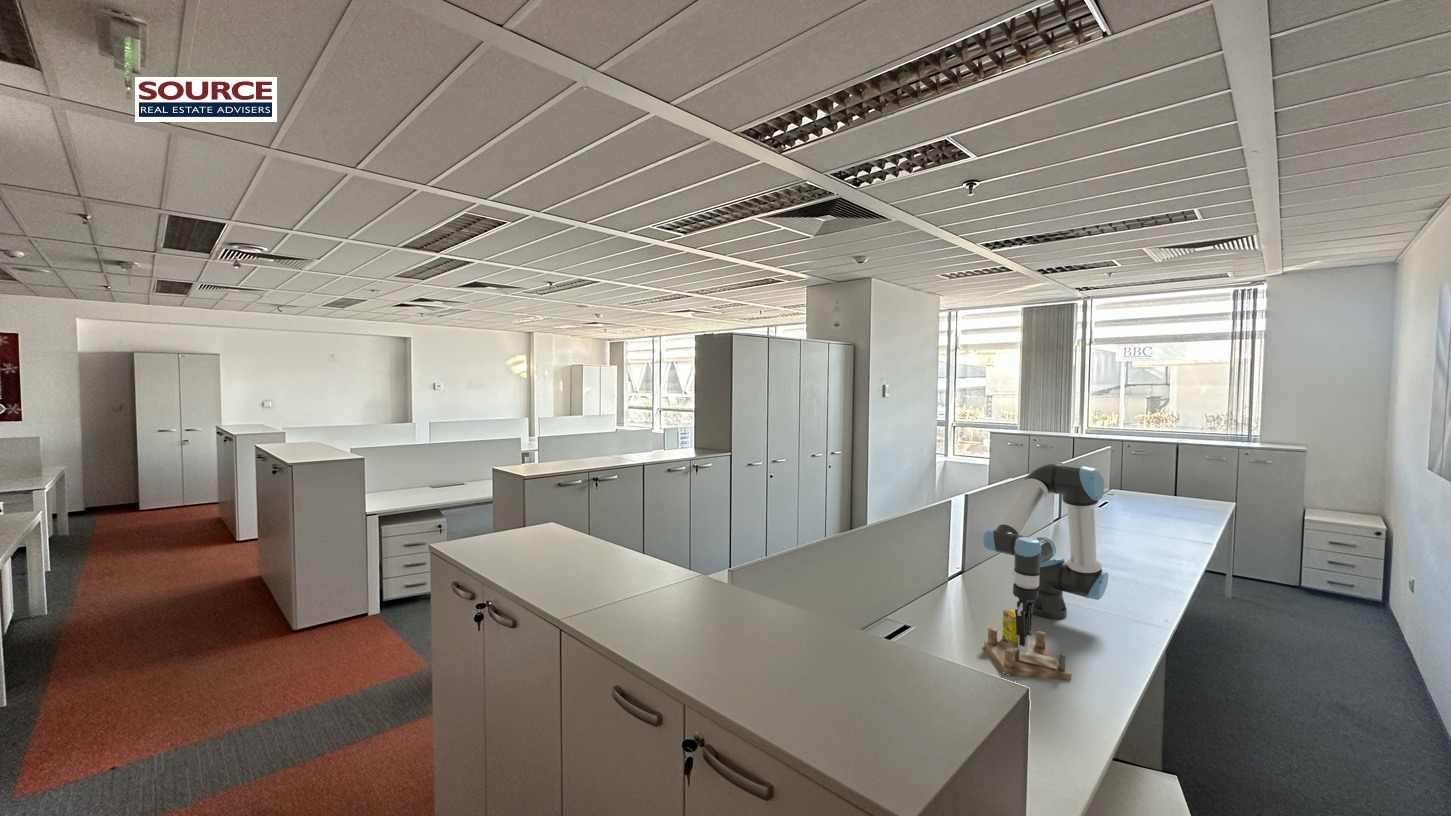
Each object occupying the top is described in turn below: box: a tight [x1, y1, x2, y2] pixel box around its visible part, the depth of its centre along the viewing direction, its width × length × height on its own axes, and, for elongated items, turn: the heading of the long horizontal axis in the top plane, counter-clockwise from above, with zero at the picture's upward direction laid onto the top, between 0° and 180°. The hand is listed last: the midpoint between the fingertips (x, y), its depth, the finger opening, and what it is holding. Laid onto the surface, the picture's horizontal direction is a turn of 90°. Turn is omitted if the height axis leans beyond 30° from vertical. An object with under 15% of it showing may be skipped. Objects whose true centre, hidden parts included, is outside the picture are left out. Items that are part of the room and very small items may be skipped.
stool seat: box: [983, 627, 1072, 681], centre depth 190 cm, size 20×20×7 cm
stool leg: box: [1013, 649, 1058, 669], centre depth 185 cm, size 13×3×3 cm, turn 61°
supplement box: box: [1001, 609, 1019, 643], centre depth 205 cm, size 6×6×11 cm
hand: (1022, 653), depth 189 cm, fingers closed
